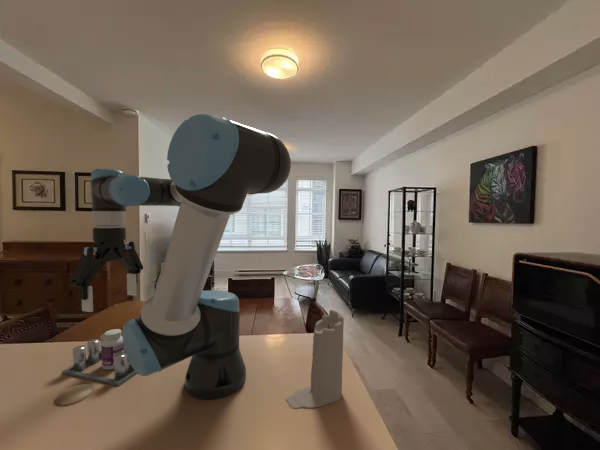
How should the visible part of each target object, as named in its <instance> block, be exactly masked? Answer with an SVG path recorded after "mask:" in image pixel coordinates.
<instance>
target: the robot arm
mask: <svg viewBox="0 0 600 450" xmlns="http://www.w3.org/2000/svg"><path fill="white" fill-rule="evenodd" d="M166 159H167V161H168V164H167V165H166V167H167V172H168V175H169V177H170V178H157V177H147V176H139V175H137V174H136V175H135V174H127V173H124V172H123V171H122V170H119V169H111V168H94V169H92V170H91V172H90V173H91V175H90V182H89V183H90V190H91V191H90V192H91V194H90V195H91V213H92V214H91V216H92V219H91V220H92V225H93V226H94V227H93V228H92V241H93V242H94V246H93V247H92V246H91V247H90V246H83V247H82V248H81V254H80V255H81V256H80V258H79V260H78V262H77V265H76V267H75V270H74V271H73V273H72V277H71V278H70V281H69V286H71V287H76V288H78V298H79V300H81V312H88V313H91V312H94V304H93V303H94V300H93V299H94V294H93V286H92V285H91V283H92V282H93V280H94V279H95V277H96V275H97V274H98V273H99V271H100V269H101V268H102V266H103V265H104V264H106V263H107V262H111V261H113V260H114V261H118V262H119V263H120V264H121V265H122V266H123V267H124V269H126V270H127V271H128V272H129V273H126V294H127V296H134V297H136V296H137V294H138V293H137V284H138V280H139V279H138V275H139V274H141V272H142V270H143V269H144V265H143V263H142V262H141V260H140V256H139V255H138V253H137V251H136V249H135V242H134V241H131V240H130V241H129V240H126V239H127V234H126V233H127V231H126V230H127V229H126V227H125V226H126V223H127V222H126V207H136V206H143V207H144V206H145V207H147V206H152V207H153V206H154V207H157V206H158V207H160V206H163V207H167V206H168V207H179V209H178V212H177V216H176V219H175V222H174V226H173V229H172V232H171V236H170V240H169V242H168V247H167V250H166V254H165V257H164V260H163V263H162V267H161V270H160V274H159V277H158V281H157V283H156V287H155V291H154V295H153V296H152V297H150V298H149V299H148V300H147V301H145V302H144V304H143V305H142V307H141V310H140V313H139V316H138V318H132V319H130V320H128V321H126V322H125V323H124V325H123V327H122V330H121V333H122V334H121V336H122V337H123V343H124V348H125V351H126V358H127V357H128V359H129V362H130V364H131V366H132V367H133V369H134V370H135V371H136V372H137V374H138V375H140V376H143V377H148V376H150V375H153V374H155V373H158V372H159V373H160V372H162V371H163V370H165V369H167V368H170V367H172V366H174V365H175V364H178V363H180V362H182V361H185V360H186V359H188V358H190V360H189V361H190V362H189V365H188V367H187V370H186V374H185V378H184V379H185V381H184V386H185V390H186V392H187V393H188V394H189V395H190V396H192V397H194V398H196V399H200V400H201V399H202V400H214V399H215V400H216V399H219V398H220V399H221V398H224V397H227V396H229V395H232V394H233V393H235V392H236V391H238V390H240V389H241V387H242V386H244V385H245V382H246V378H247V367H246V365H245V362H244V359H243V358H244V357H243V356H242V352H241V349H240V316H241V315H240V312H241V309H240V299H239V297H238V296H237V295H236V294H235V293H233V292H229V291H225V290H215V289H214V290H210V289H209V290H204V288H205V285H206V283H207V279H208V277H209V275H210V271H211V269H212V266H213V264H214V261H215V258H216V255H217V252H218V249H219V248H220V244H221V241H222V239H223V236H224V233H225V231H226V227H227V224H228V221H229V219H230V217H231V215H233V214H236V213H239V212H241V210H242V208H243V206H244V203H245V201H246V198H247V196H248V195H249V196H251V195H257V194H269V193H272V192H275V191H277V190H278V189H280V188H281V187H282V186H284V184H285V183H286V181H287V180H288V179H289V176H290V173H291V167H292V164H291V163H292V161H291V156H290V153H289V151H288V148H287V147H286V146H285V144H284V142H283V141H282V140H281V139H280V138H279V137H277V136H276V135H274V134H272V133H270V132H266V131H264V130H261V129H256V128H255V127H250V126H248V125H245V124H241V123H239V122H236V121H234V120H231V119H229V118H225V117H222V116H221V117H220V116H215V115H211V114H207V113H205V114H204V113H199V114H195V115H192V116H190V117H189V118H187V119H185V120H184V121H182V122H181V124H180V125H179V126H178V127H177V129H175V131H174V133H173V135H172V138H171V139H170V142H169V146H168V149H167V157H166ZM124 250H125V251H124Z"/></svg>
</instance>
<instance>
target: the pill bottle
mask: <svg viewBox="0 0 600 450" xmlns="http://www.w3.org/2000/svg"><path fill="white" fill-rule="evenodd" d="M103 334H104V338H105V340H104V341H103V342H102V356H101V366H102V369H103V370H105V371H106V370H108V371H109V370H110V371H111V370H114V356H115V355H117V354H119V353H125V347H124V343H123V335H122V330H121V329H120V328H115V329H110V330H107V331H105V332H104V333H103Z"/></svg>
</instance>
